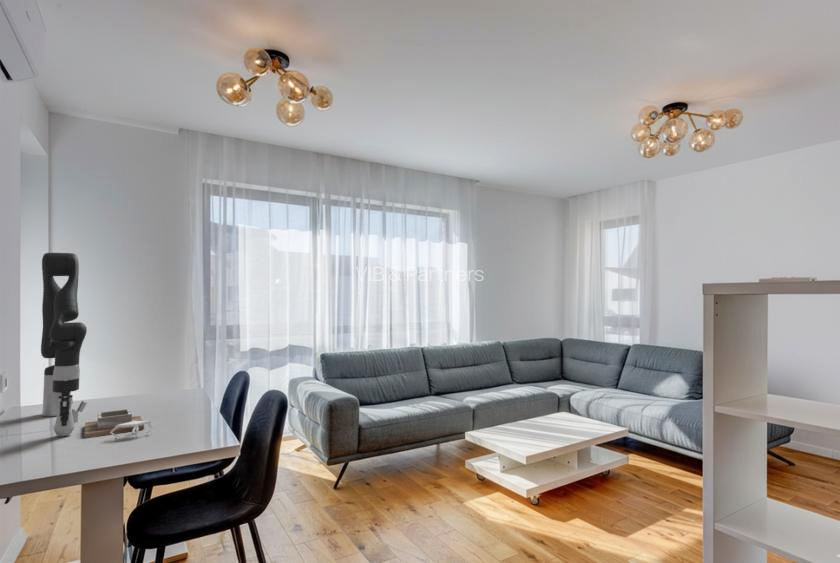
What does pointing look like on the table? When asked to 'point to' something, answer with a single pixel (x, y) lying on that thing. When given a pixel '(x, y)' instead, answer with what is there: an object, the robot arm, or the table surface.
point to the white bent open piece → (135, 424)
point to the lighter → (80, 409)
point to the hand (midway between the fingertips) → (64, 425)
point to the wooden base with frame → (111, 423)
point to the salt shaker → (58, 426)
